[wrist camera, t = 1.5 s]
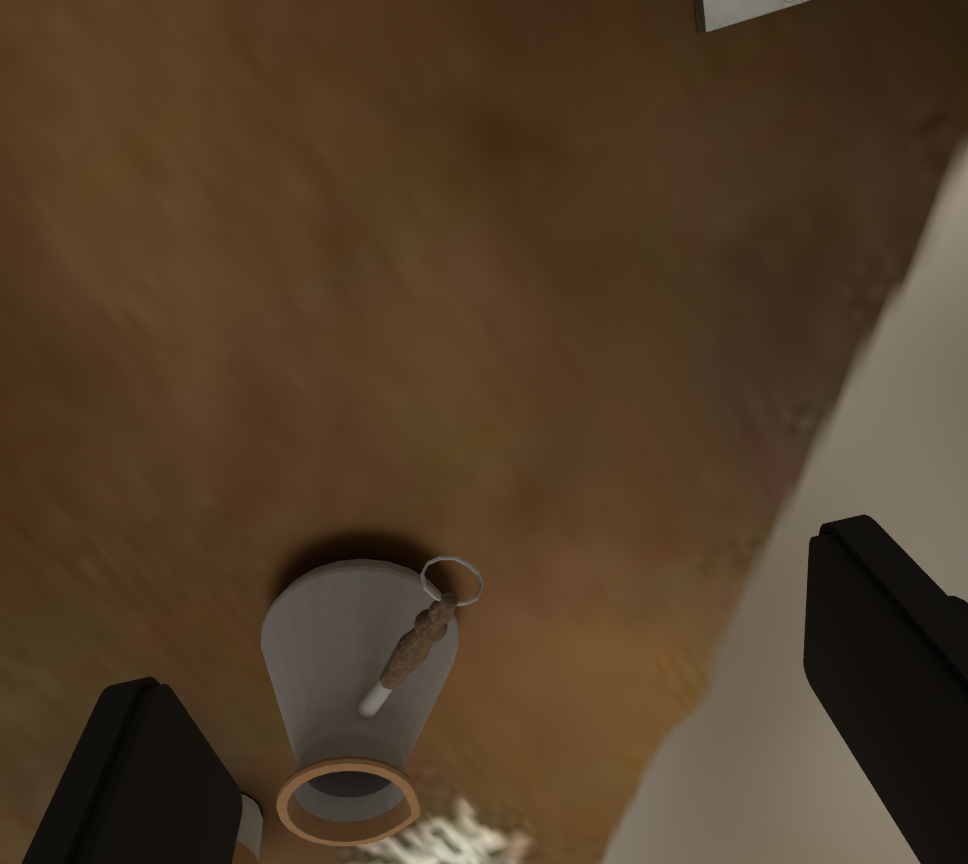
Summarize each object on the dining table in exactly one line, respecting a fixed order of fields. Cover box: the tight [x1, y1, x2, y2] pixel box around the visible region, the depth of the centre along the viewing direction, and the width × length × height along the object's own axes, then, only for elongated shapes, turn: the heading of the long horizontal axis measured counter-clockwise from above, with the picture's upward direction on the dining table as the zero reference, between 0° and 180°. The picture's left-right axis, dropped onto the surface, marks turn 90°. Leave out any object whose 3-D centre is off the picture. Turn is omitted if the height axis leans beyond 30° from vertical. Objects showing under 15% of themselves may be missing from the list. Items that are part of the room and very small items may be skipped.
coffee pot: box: [261, 556, 484, 846], centre depth 34 cm, size 21×12×15 cm, turn 160°
